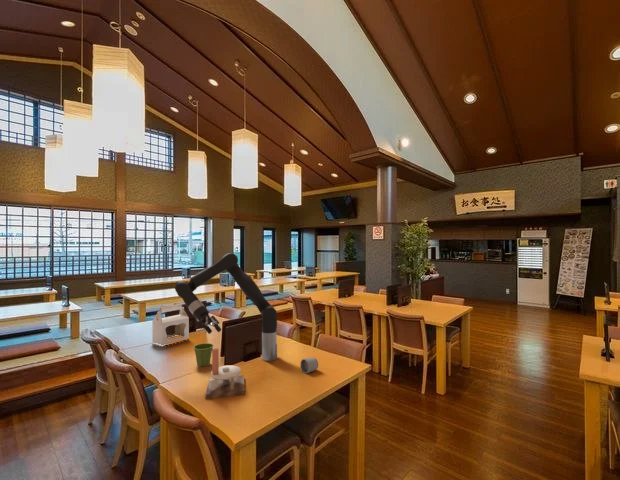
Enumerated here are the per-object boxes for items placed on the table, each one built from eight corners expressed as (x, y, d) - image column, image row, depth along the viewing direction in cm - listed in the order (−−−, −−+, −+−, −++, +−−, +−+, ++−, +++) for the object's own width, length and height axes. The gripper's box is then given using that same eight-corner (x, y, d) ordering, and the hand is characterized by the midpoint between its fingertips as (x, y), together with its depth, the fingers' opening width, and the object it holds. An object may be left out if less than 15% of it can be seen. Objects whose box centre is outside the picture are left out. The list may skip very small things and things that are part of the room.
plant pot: (207, 369, 180) (207, 349, 180) (189, 367, 182) (189, 348, 182) (217, 361, 191) (217, 343, 191) (200, 360, 194) (200, 342, 194)
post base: (244, 378, 165) (244, 364, 166) (244, 394, 148) (244, 377, 148) (209, 382, 162) (209, 367, 162) (205, 398, 144) (205, 381, 144)
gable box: (161, 347, 220) (161, 308, 221) (151, 344, 227) (151, 306, 228) (189, 339, 238) (189, 303, 239) (179, 336, 246) (179, 302, 246)
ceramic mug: (319, 371, 174) (319, 357, 175) (308, 375, 169) (308, 361, 170) (307, 366, 183) (307, 353, 183) (296, 369, 177) (296, 356, 178)
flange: (240, 374, 163) (240, 341, 164) (240, 386, 149) (240, 350, 150) (211, 377, 160) (211, 343, 161) (208, 389, 146) (208, 353, 146)
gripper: (194, 305, 163) (212, 328, 158) (210, 304, 177) (227, 325, 171) (185, 315, 164) (202, 338, 158) (202, 314, 177) (218, 335, 172)
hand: (215, 331), depth 165 cm, fingers open, 8 cm apart
